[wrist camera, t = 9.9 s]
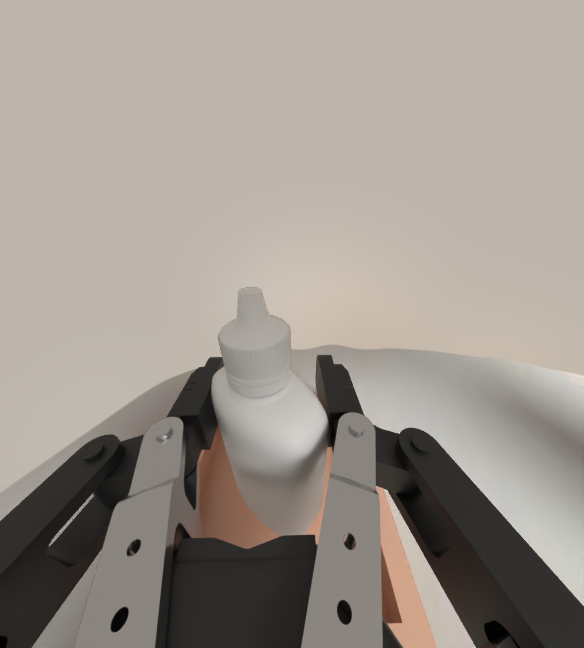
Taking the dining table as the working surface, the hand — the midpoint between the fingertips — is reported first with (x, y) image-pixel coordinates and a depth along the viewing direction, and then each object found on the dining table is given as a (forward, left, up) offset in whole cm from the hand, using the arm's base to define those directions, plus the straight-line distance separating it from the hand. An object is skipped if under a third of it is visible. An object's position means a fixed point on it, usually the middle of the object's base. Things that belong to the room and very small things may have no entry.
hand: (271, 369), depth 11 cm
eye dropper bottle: (0, +3, -7) cm, 7 cm away
